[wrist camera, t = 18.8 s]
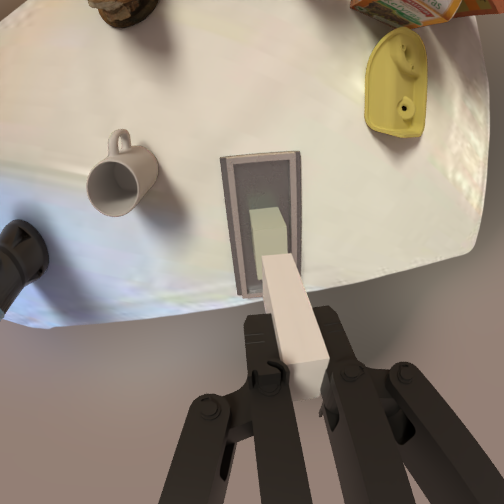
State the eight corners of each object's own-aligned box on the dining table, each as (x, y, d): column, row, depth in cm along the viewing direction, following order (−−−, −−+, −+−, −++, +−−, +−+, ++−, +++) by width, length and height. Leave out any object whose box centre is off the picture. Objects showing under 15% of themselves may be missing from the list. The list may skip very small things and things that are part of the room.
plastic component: (423, 136, 40) (398, 138, 36) (392, 127, 45) (363, 128, 42) (426, 38, 29) (400, 23, 25) (393, 36, 34) (363, 23, 30)
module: (253, 255, 52) (258, 281, 45) (249, 210, 47) (252, 230, 40) (280, 252, 52) (288, 277, 45) (277, 206, 47) (286, 226, 40)
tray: (237, 292, 57) (237, 298, 56) (220, 157, 43) (219, 159, 41) (298, 285, 58) (300, 291, 56) (298, 150, 43) (301, 152, 42)
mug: (161, 190, 45) (143, 216, 35) (116, 194, 44) (91, 219, 35) (155, 122, 39) (134, 129, 29) (109, 128, 38) (78, 139, 29)
